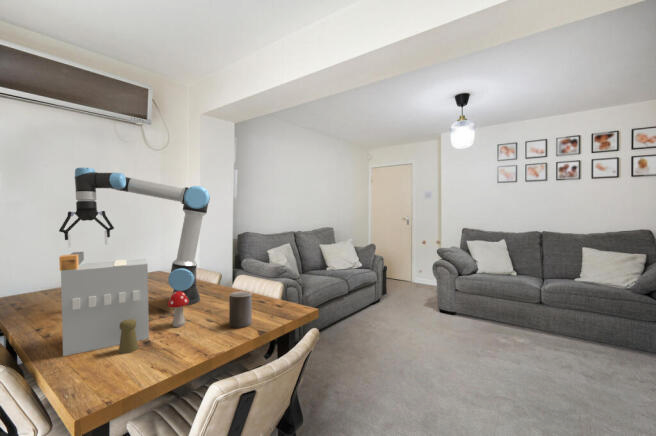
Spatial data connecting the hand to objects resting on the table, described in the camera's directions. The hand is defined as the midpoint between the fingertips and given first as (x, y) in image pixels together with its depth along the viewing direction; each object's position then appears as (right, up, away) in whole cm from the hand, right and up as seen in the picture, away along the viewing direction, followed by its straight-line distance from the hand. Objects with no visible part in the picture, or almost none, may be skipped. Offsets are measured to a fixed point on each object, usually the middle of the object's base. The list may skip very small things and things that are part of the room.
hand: (88, 245), depth 143 cm
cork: (+40, -36, -32) cm, 62 cm away
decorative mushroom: (+47, -35, -8) cm, 59 cm away
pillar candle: (+74, -35, -7) cm, 82 cm away
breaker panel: (+27, -35, -23) cm, 50 cm away
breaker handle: (+15, -5, -25) cm, 30 cm away
